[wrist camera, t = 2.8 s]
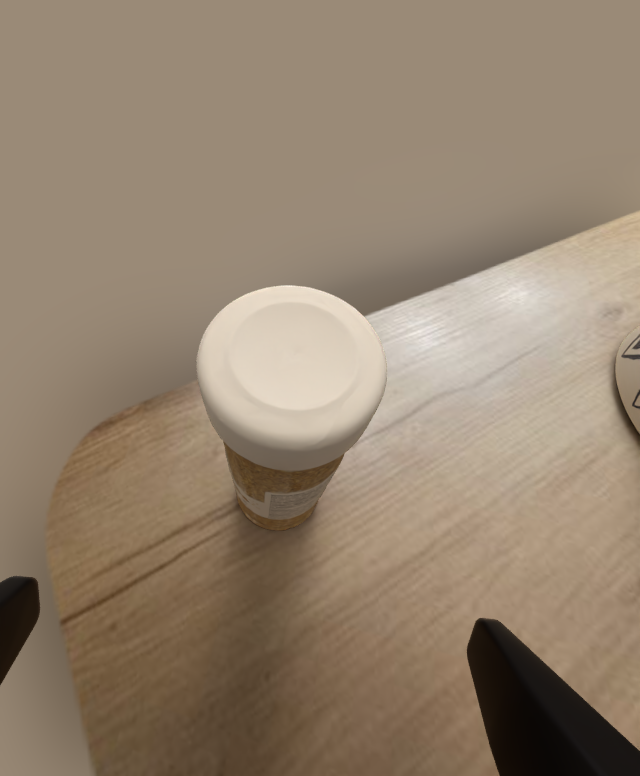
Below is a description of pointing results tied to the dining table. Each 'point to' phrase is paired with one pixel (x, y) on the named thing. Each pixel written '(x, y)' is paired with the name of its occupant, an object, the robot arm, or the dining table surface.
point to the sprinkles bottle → (288, 395)
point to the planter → (630, 375)
